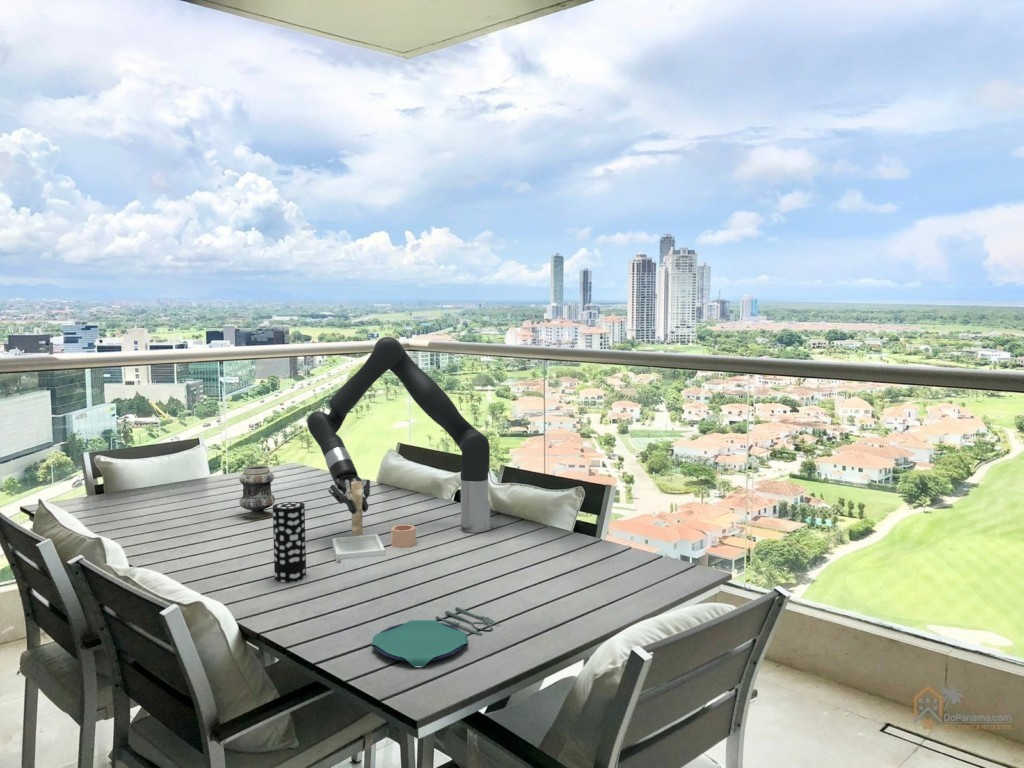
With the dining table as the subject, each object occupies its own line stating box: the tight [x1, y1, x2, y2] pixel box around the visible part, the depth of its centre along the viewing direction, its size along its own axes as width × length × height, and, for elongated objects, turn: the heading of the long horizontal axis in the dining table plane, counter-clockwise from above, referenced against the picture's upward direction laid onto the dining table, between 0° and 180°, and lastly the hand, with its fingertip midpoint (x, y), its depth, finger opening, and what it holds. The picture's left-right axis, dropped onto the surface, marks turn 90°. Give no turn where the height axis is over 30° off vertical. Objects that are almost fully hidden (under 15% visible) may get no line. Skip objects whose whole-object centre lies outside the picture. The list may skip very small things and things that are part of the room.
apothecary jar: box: [238, 465, 276, 521], centre depth 265 cm, size 12×12×18 cm
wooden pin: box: [351, 481, 364, 536], centre depth 223 cm, size 3×3×16 cm
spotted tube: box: [272, 501, 307, 583], centre depth 202 cm, size 8×8×20 cm
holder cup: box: [390, 524, 417, 549], centre depth 229 cm, size 8×8×6 cm
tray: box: [331, 534, 386, 564], centre depth 224 cm, size 14×17×2 cm
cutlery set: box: [371, 606, 496, 667], centre depth 163 cm, size 20×30×2 cm, turn 140°
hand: (360, 511), depth 222 cm, fingers closed on wooden pin, 3 cm apart
